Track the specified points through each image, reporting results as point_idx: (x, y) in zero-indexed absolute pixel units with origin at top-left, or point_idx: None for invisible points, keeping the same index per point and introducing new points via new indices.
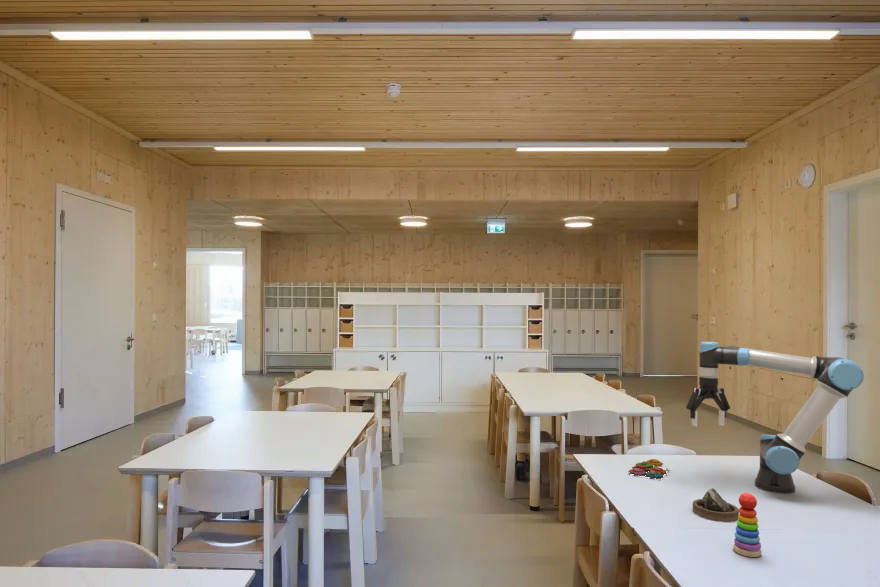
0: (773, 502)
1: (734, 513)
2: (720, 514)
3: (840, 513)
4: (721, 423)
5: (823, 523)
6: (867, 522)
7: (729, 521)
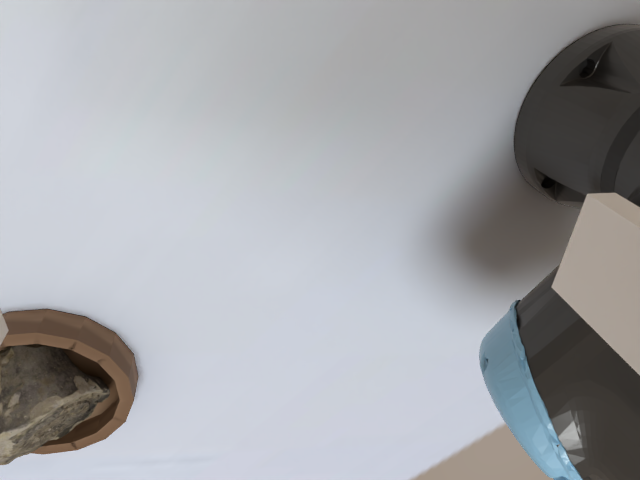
0: (398, 279)
1: (82, 446)
2: None
3: None
4: (587, 279)
5: (376, 425)
6: None
7: None
